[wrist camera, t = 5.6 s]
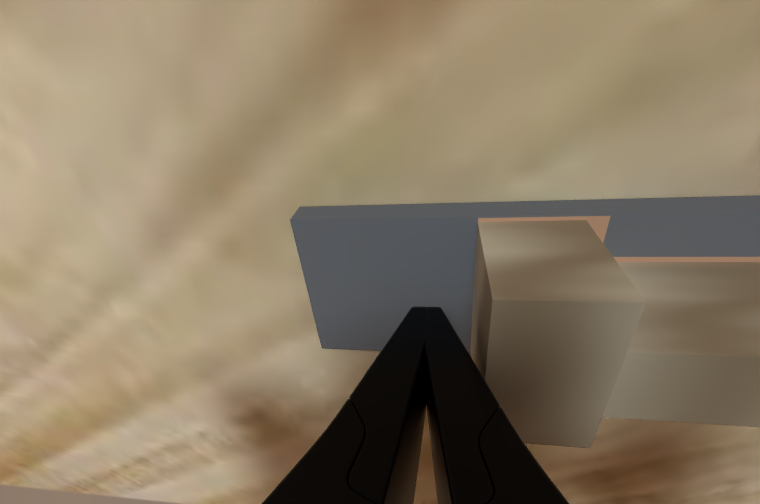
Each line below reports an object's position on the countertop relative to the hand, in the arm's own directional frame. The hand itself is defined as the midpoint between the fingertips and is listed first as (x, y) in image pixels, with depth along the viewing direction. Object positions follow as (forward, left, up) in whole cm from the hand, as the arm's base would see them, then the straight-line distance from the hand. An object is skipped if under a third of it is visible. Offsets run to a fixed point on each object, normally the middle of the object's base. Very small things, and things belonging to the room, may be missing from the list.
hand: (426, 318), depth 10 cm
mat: (-3, 0, -2) cm, 3 cm away
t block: (-5, 0, -1) cm, 5 cm away
